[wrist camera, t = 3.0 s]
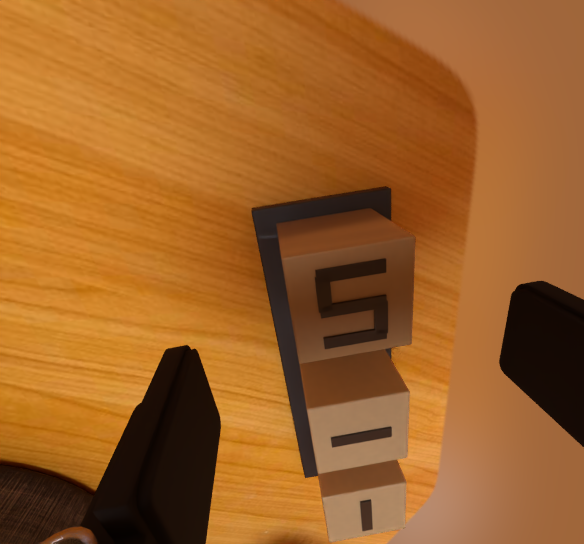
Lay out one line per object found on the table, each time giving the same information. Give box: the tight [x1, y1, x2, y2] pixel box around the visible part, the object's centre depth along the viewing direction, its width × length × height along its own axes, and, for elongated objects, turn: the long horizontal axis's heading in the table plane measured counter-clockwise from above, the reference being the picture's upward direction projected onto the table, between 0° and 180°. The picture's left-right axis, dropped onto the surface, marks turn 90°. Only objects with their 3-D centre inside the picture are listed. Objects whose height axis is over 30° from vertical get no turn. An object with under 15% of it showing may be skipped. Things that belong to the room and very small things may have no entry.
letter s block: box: [276, 208, 415, 364], centre depth 13 cm, size 4×4×5 cm
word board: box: [252, 186, 410, 542], centre depth 16 cm, size 20×6×5 cm, turn 8°
